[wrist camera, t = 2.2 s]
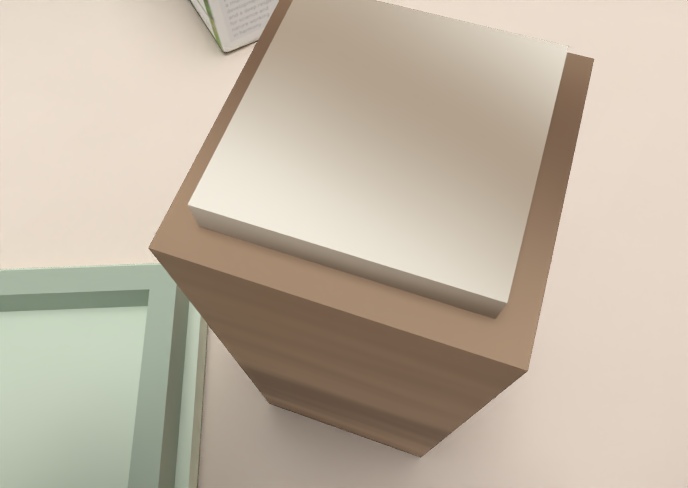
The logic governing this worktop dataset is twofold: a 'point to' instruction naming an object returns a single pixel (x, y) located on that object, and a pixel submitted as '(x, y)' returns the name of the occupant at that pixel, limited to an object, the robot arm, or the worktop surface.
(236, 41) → the syrup box
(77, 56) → the worktop surface
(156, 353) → the tray
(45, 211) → the worktop surface
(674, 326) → the worktop surface
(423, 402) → the wooden square pillar
